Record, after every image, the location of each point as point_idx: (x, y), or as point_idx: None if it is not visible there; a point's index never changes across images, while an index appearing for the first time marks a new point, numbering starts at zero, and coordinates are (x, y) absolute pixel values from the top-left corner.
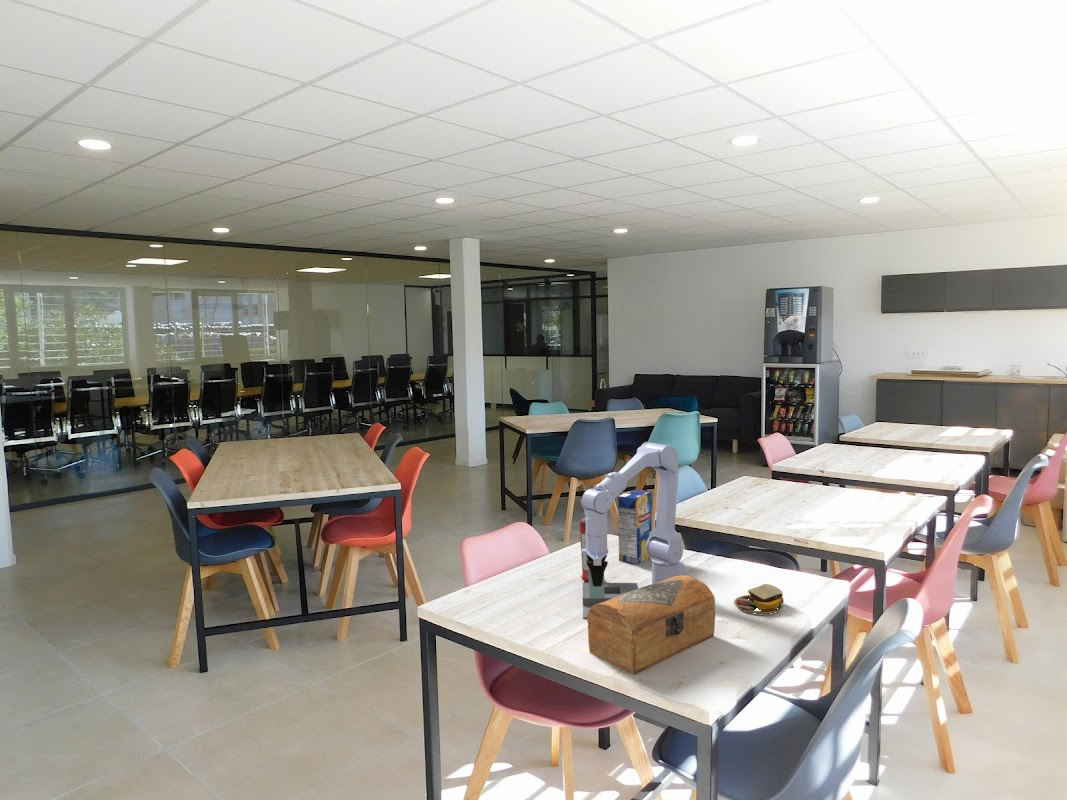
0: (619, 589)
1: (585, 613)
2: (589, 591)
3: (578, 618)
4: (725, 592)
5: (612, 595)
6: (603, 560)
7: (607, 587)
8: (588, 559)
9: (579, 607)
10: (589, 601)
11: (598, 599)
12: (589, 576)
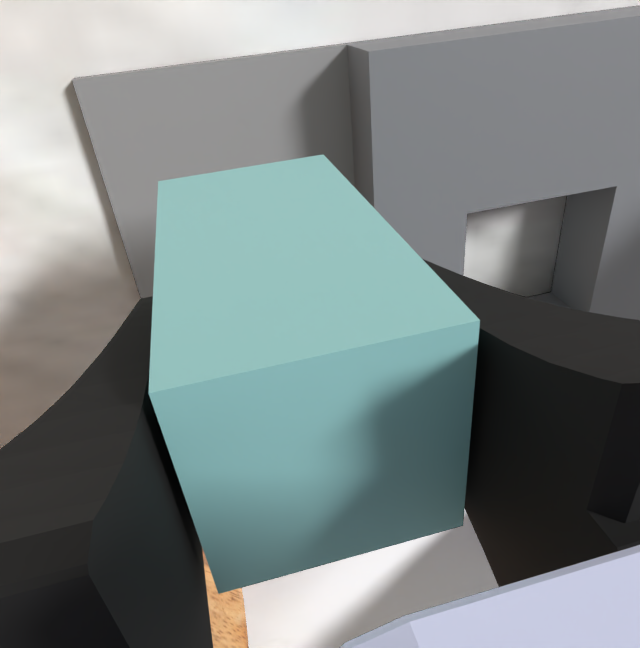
0: (575, 308)
1: (166, 94)
2: (159, 207)
3: (67, 29)
4: None
5: None
6: (503, 576)
7: (600, 237)
8: (553, 375)
9: (330, 9)
10: (360, 117)
11: (370, 202)
12: (156, 309)
